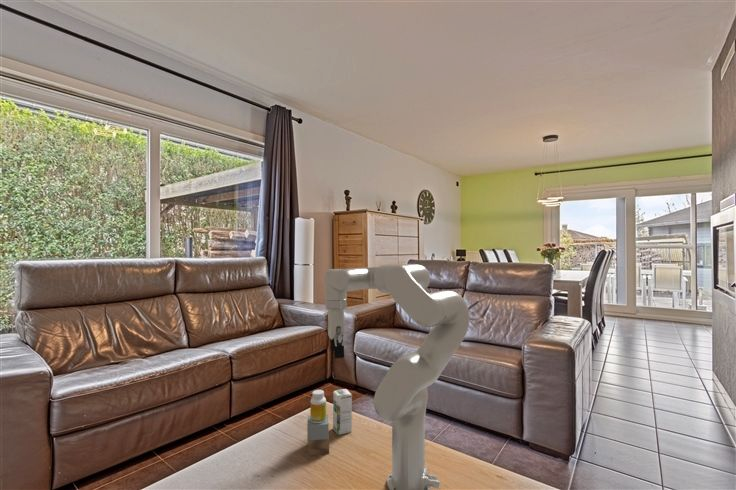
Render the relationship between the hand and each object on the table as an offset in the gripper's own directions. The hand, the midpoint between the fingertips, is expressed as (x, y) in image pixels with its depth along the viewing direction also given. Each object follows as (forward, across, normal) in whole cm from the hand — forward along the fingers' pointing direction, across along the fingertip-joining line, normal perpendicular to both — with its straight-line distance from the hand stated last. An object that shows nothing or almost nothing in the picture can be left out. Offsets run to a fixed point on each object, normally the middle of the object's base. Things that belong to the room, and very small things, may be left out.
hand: (337, 353), depth 126 cm
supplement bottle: (+23, -1, -7) cm, 24 cm away
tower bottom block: (+32, -2, -7) cm, 33 cm away
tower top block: (+27, -1, -8) cm, 28 cm away
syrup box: (+32, -12, +2) cm, 35 cm away
